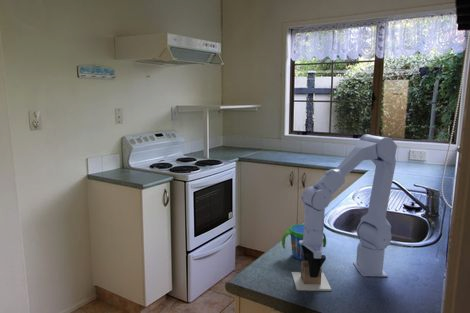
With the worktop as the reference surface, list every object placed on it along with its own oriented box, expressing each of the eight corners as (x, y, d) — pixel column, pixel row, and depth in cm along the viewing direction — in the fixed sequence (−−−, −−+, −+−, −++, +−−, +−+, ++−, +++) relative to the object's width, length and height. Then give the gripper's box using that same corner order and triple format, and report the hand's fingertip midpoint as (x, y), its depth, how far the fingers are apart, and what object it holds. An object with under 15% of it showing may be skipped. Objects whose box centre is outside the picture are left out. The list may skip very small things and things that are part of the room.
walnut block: (300, 275, 113) (301, 260, 113) (316, 276, 114) (317, 260, 113) (303, 284, 108) (304, 268, 108) (320, 284, 109) (321, 268, 108)
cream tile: (291, 273, 116) (291, 271, 116) (323, 274, 116) (323, 272, 116) (296, 290, 106) (296, 288, 106) (331, 290, 106) (331, 289, 106)
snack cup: (321, 250, 134) (322, 223, 133) (329, 263, 124) (331, 234, 122) (278, 250, 134) (279, 223, 132) (283, 263, 123) (285, 234, 122)
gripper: (296, 219, 115) (294, 259, 118) (304, 236, 101) (302, 282, 103) (318, 219, 115) (316, 260, 118) (330, 237, 101) (327, 283, 103)
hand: (311, 270), depth 110 cm, fingers open, 7 cm apart
